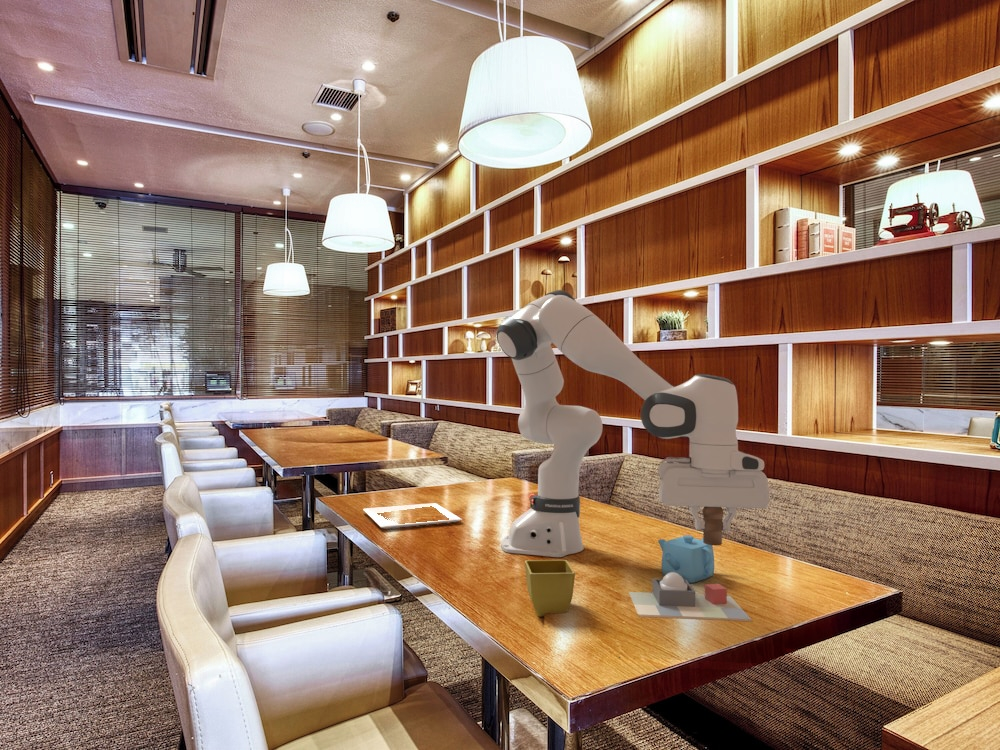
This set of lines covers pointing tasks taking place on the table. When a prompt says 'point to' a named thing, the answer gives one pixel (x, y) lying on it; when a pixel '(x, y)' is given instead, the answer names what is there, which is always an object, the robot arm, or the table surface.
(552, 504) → the robot arm
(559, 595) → the flower pot
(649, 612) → the board
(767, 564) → the table surface
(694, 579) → the teapot
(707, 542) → the pawn
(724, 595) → the red cube
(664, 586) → the dome
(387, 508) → the white frame
